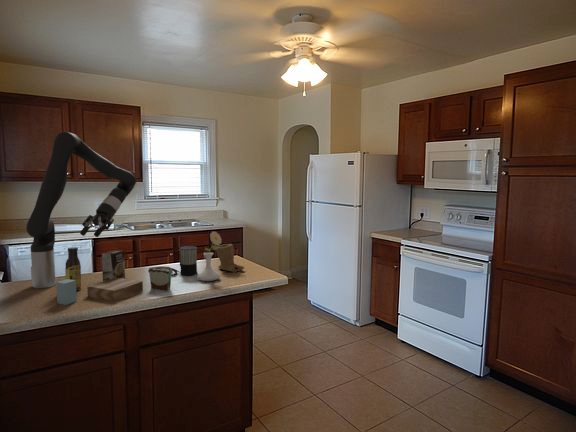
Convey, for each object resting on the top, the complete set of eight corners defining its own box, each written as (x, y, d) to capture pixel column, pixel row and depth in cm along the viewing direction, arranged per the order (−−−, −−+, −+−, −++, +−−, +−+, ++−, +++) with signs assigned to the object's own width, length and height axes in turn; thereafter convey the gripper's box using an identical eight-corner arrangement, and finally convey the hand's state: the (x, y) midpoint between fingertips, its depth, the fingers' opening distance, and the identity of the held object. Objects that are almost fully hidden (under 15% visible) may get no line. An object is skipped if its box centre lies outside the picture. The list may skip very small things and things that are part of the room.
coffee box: (114, 287, 180) (113, 253, 178) (102, 286, 181) (101, 253, 179) (126, 282, 189) (125, 250, 187) (114, 281, 190) (113, 249, 188)
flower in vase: (204, 284, 185) (203, 234, 183) (193, 279, 194) (192, 231, 191) (227, 279, 194) (226, 231, 191) (215, 275, 202) (215, 229, 200)
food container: (178, 288, 179) (178, 267, 178) (170, 291, 173) (170, 270, 172) (157, 285, 183) (156, 265, 182) (148, 288, 177) (147, 268, 176)
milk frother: (201, 273, 206) (200, 246, 205) (178, 280, 193) (178, 251, 191) (183, 270, 214) (182, 244, 212) (160, 276, 201) (159, 248, 199)
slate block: (57, 303, 156) (56, 282, 155) (68, 299, 161) (67, 279, 160) (65, 304, 154) (64, 283, 153) (76, 301, 159) (75, 280, 158)
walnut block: (87, 297, 166) (87, 286, 165) (117, 287, 180) (116, 277, 180) (114, 302, 159) (114, 290, 159) (142, 291, 174) (142, 281, 173)
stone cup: (212, 269, 216) (212, 243, 214) (230, 266, 223) (230, 241, 222) (226, 274, 204) (226, 247, 203) (244, 271, 212) (244, 244, 210)
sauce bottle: (70, 292, 170) (68, 249, 168) (63, 290, 173) (60, 248, 171) (84, 289, 176) (82, 247, 174) (77, 287, 179) (75, 246, 177)
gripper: (92, 201, 175) (71, 229, 166) (115, 202, 169) (94, 231, 160) (102, 212, 180) (82, 239, 171) (125, 213, 175) (105, 241, 166)
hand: (88, 235), depth 166 cm, fingers open, 8 cm apart
